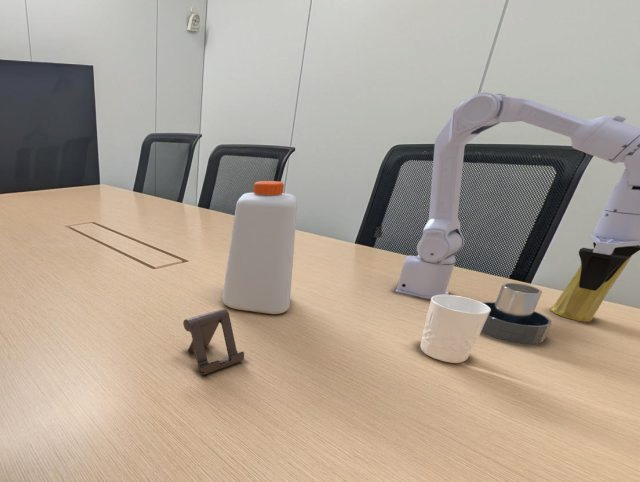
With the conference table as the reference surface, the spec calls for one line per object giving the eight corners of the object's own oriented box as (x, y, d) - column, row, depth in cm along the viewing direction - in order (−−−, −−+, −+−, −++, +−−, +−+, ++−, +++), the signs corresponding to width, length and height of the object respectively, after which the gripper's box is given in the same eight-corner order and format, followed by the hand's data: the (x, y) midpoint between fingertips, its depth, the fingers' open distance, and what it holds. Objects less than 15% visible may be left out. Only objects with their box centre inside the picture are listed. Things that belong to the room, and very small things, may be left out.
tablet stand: (204, 377, 63) (206, 334, 60) (177, 355, 69) (178, 315, 66) (243, 363, 67) (248, 321, 63) (214, 343, 73) (217, 304, 70)
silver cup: (485, 329, 75) (501, 288, 71) (488, 320, 78) (503, 280, 74) (522, 339, 71) (542, 295, 67) (524, 329, 74) (542, 287, 71)
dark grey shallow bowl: (464, 331, 75) (471, 313, 73) (472, 314, 82) (478, 297, 80) (542, 352, 68) (551, 332, 66) (543, 331, 74) (551, 313, 73)
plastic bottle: (218, 309, 87) (228, 186, 77) (228, 286, 100) (237, 177, 89) (288, 318, 82) (309, 187, 71) (289, 293, 95) (306, 179, 84)
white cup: (459, 345, 70) (477, 297, 66) (480, 368, 63) (501, 316, 59) (409, 339, 73) (424, 292, 69) (424, 361, 66) (441, 310, 62)
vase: (600, 324, 76) (645, 259, 70) (565, 320, 77) (607, 255, 71) (574, 310, 82) (614, 248, 76) (542, 306, 83) (579, 245, 77)
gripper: (659, 221, 58) (617, 300, 63) (675, 210, 65) (636, 282, 70) (591, 214, 64) (557, 287, 69) (612, 204, 70) (580, 272, 76)
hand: (593, 284), depth 70 cm, fingers open, 7 cm apart
